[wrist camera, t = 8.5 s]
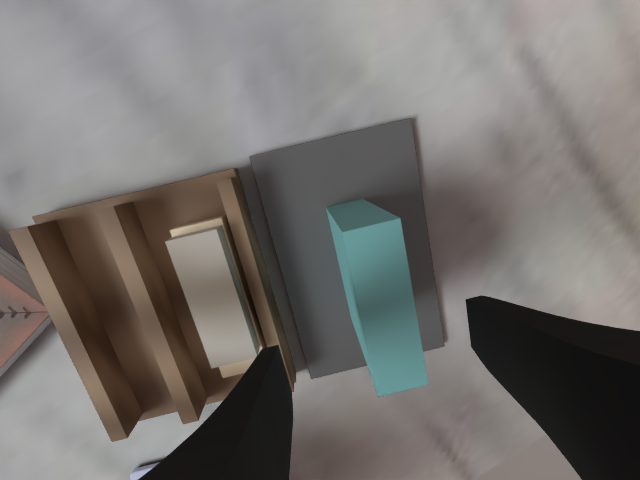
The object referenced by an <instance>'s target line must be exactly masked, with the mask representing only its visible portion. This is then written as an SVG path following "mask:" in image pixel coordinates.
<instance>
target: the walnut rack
mask: <svg viewBox="0 0 640 480" xmlns="http://www.w3.org/2000/svg"><path fill="white" fill-rule="evenodd" d="M223 215H226V216H227V219H228V222H229V225H230V229H231V232H232V235H233V238H234V242H235V245H236V248H237V251H238V255H239V258H240V261H241V264H242V267H243V271H244V274H245V277H246V280H247V284H248V287H249V290H250V293H251V297H252V300H253V303H254V306H255V310H256V313H257V316H258V319H259V322H260V326H261V329H262V332H263V335H264V339H265V342H266V345H267V347H271V346H275V345H279V349H280V352H281V355H282V359H283V362H284V366H285V369H286V373H287V376H288V379H289V383H290V386H291V390H292V392H294V383H295V382H296V371H295V368H294V364H293V361H292V357H291V354H290V351H289V347H288V344H287V340H286V337H285V333H284V330H283V326H282V323H281V319H280V316H279V313H278V309H277V306H276V302H275V299H274V295H273V292H272V288H271V285H270V282H269V278H268V275H267V271H266V268H265V264H264V261H263V257H262V254H261V250H260V247H259V244H258V240H257V237H256V233H255V230H254V226H253V223H252V219H251V216H250V213H249V209H248V206H247V202H246V199H245V195H244V192H243V188H242V185H241V181H240V178H239V175H238V171H237V169H230V170H226V171H222V172H217V173H213V174H209V175H205V176H201V177H196V178H192V179H188V180H184V181H180V182H175V183H171V184H167V185H163V186H159V187H154V188H150V189H146V190H142V191H138V192H133V193H129V194H125V195H121V196H117V197H112V198H108V199H104V200H100V201H95V202H91V203H87V204H83V205H79V206H74V207H70V208H66V209H62V210H58V211H53V212H49V213H45V214H41V215H37V216H32V218H33V220H34V222H35V224H36V225H32V226H27V227H23V228H19V229H15V230H11V231H8V232H9V234H10V236H11V238H12V240H13V242H14V244H15V246H16V248H17V250H18V252H19V254H20V256H21V258H22V260H23V262H24V264H25V266H26V268H27V270H28V272H29V274H30V276H31V278H32V280H33V283H34V285H35V287H36V289H37V291H38V293H39V295H40V297H41V299H42V301H43V303H44V305H45V307H46V309H47V311H48V313H49V315H50V317H51V319H52V321H53V323H54V325H55V327H56V329H57V331H58V333H59V335H60V337H61V339H62V341H63V344H64V346H65V348H66V350H67V352H68V354H69V356H70V358H71V360H72V362H73V364H74V366H75V368H76V370H77V372H78V374H79V376H80V378H81V380H82V382H83V384H84V386H85V388H86V390H87V392H88V394H89V396H90V398H91V400H92V402H93V405H94V407H95V409H96V411H97V413H98V415H99V417H100V419H101V421H102V423H103V425H104V427H105V429H106V431H107V433H108V435H109V437H110V439H111V441H112V442H114V441H118V440H122V439H126V438H128V436H129V435H130V433H131V432H132V430H133V428H134V427H135V425H136V424H137V422H138V421H141V420H145V419H149V418H153V417H157V416H161V415H165V414H169V413H173V412H177V411H178V413H179V416H180V418H181V421H182V423H183V424H187V423H191V422H195V421H199V418H200V415H201V413H202V410H203V408H204V405H206V404H210V403H214V402H218V401H222V400H224V399H225V398H226V397H227V396H228V394H229V393H230V392H231V391H232V389H233V388H234V387H235V386H236V384H237V383H238V382H239V380H240V379H241V378H242V376H243V375H244V374H245V373H242V374H238V375H234V376H230V377H226V378H223V377H222V375H221V372H220V369H219V367H216V368H211V366H210V363H209V360H208V358H207V355H206V352H205V349H204V347H203V344H202V341H201V338H200V336H199V333H198V330H197V328H196V325H195V322H194V319H193V317H192V314H191V311H190V308H189V306H188V303H187V300H186V298H185V295H184V292H183V289H182V287H181V284H180V281H179V278H178V276H177V273H176V270H175V268H174V265H173V262H172V259H171V257H170V254H169V251H168V248H167V246H166V243H165V241H167V240H169V239H170V238H172V235H171V233H170V230H171V229H173V228H175V227H177V226H181V225H185V224H189V223H193V222H198V221H202V220H206V219H210V218H214V217H218V216H223Z"/></svg>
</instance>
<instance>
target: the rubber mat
mask: <svg viewBox="0 0 640 480" xmlns="http://www.w3.org/2000/svg"><path fill="white" fill-rule="evenodd" d="M249 157H250V161H251V164H252V168H253V172H254V175H255V179H256V182H257V186H258V190H259V193H260V197H261V200H262V204H263V208H264V211H265V215H266V218H267V222H268V226H269V229H270V233H271V236H272V240H273V244H274V247H275V251H276V254H277V258H278V262H279V265H280V269H281V272H282V276H283V280H284V283H285V287H286V290H287V294H288V298H289V301H290V305H291V309H292V312H293V316H294V319H295V323H296V327H297V330H298V334H299V337H300V341H301V345H302V348H303V352H304V355H305V359H306V363H307V366H308V370H309V373H310V377H311V379H314V378H318V377H322V376H326V375H330V374H334V373H338V372H342V371H346V370H350V369H354V368H358V367H363V366H367V363H366V360H365V357H364V354H363V352H362V349H361V346H360V343H359V340H358V337H357V334H356V331H355V328H354V325H353V322H352V320H351V315H350V311H349V307H348V302H347V298H346V293H345V289H344V285H343V280H342V276H341V271H340V267H339V263H338V258H337V254H336V249H335V245H334V241H333V236H332V232H331V227H330V223H329V219H328V214H327V210H326V207H330V206H335V205H339V204H343V203H347V202H351V201H355V200H360V199H364V200H366V201H368V202H370V203H372V204H374V205H376V206H378V207H380V208H382V209H383V210H385V211H387V212H389V213H391V214H393V215H395V216H397V217H399V218H400V219H401V225H402V231H403V237H404V243H405V249H406V255H407V260H408V266H409V272H410V278H411V284H412V290H413V296H414V302H415V308H416V314H417V320H418V326H419V332H420V337H421V343H422V349H423V351H428V350H432V349H436V348H440V347H444V346H445V345H444V339H443V332H442V325H441V318H440V312H439V305H438V298H437V291H436V285H435V278H434V271H433V264H432V258H431V251H430V244H429V238H428V231H427V224H426V217H425V211H424V204H423V197H422V190H421V184H420V177H419V170H418V163H417V157H416V150H415V143H414V137H413V130H412V123H411V118H409V119H405V120H400V121H396V122H392V123H388V124H384V125H379V126H375V127H371V128H367V129H363V130H358V131H354V132H350V133H346V134H341V135H337V136H333V137H329V138H325V139H320V140H316V141H312V142H308V143H304V144H299V145H295V146H291V147H287V148H283V149H278V150H274V151H270V152H266V153H261V154H257V155H253V156H249Z"/></svg>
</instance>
